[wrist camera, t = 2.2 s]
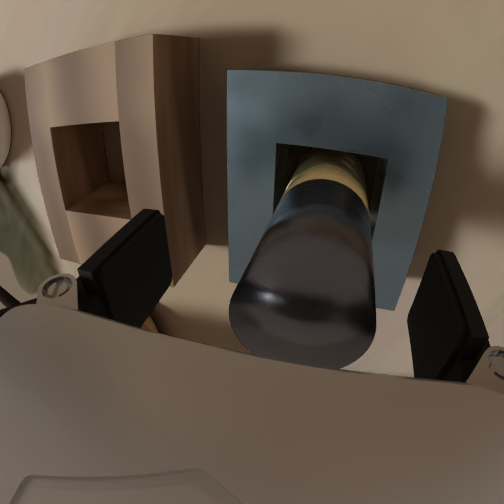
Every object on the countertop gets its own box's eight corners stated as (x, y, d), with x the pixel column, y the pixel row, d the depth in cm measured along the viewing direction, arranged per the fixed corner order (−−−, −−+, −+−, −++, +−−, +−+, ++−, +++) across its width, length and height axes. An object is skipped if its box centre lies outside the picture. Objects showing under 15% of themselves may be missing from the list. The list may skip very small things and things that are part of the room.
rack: (198, 38, 16) (152, 34, 11) (205, 244, 23) (174, 287, 19) (76, 59, 18) (23, 68, 14) (98, 226, 25) (60, 258, 21)
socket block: (429, 92, 14) (448, 98, 11) (390, 275, 20) (394, 310, 18) (248, 69, 16) (226, 70, 13) (246, 251, 22) (229, 281, 20)
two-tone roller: (369, 150, 17) (395, 280, 7) (358, 214, 19) (355, 382, 9) (298, 140, 18) (226, 252, 8) (293, 204, 20) (230, 357, 10)
